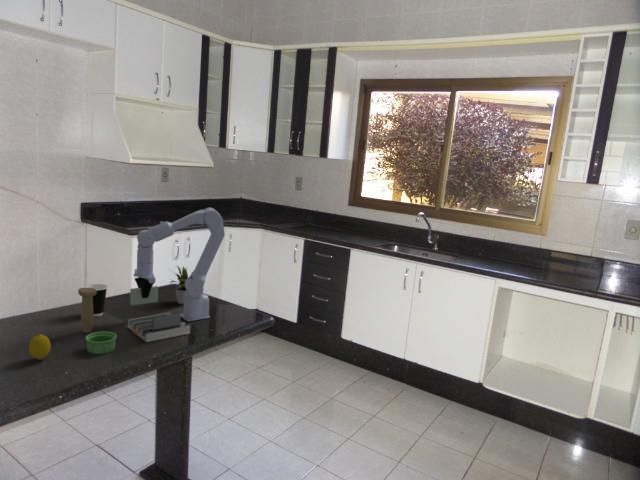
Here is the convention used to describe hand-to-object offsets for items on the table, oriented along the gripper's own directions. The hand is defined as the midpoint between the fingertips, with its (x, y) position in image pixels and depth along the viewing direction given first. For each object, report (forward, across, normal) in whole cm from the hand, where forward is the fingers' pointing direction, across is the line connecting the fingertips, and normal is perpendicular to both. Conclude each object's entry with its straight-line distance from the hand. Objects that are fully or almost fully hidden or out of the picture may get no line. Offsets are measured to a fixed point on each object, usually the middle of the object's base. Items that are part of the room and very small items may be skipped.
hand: (144, 297), depth 178 cm
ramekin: (+9, +20, -22) cm, 31 cm away
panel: (+2, 0, 0) cm, 2 cm away
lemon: (+9, +19, -39) cm, 44 cm away
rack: (+9, +14, 0) cm, 16 cm away
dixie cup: (+9, -13, -13) cm, 21 cm away
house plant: (+9, -14, +22) cm, 27 cm away
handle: (+9, +3, -21) cm, 23 cm away
